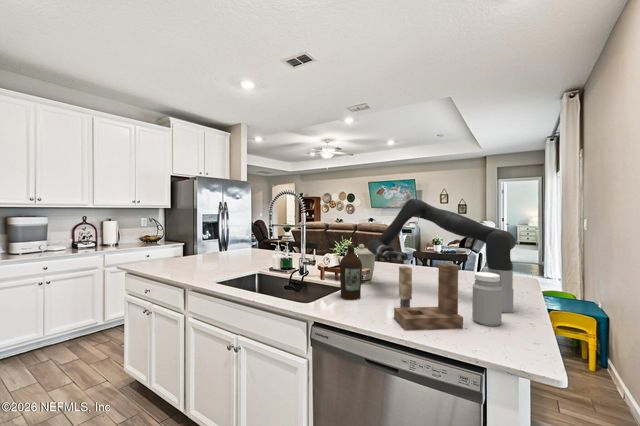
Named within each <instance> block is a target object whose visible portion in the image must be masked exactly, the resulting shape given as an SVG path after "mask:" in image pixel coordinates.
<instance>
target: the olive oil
mask: <svg viewBox="0 0 640 426" xmlns="http://www.w3.org/2000/svg"><path fill="white" fill-rule="evenodd" d="M354 248H355V245H354V244H347V248H346V249H347V250H346V253H345V255H343V257H342V258H341V260H340V261H339V278H340V279H339V280H340V297H341V299H343V300H349V301H350V300H351V301H354V300H355V301H356V300H359V299H360V298H361V293H362V288H361V287H362V280H361V274H362V263H361V260H360V259H359V258H358V257H357V255H356V254H355V253H354Z"/></svg>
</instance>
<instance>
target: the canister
mask: <svg viewBox="0 0 640 426" xmlns="http://www.w3.org/2000/svg"><path fill="white" fill-rule="evenodd" d="M357 248H358V249H357V250H356V251H354V253H355V254H356V253H358V254H357V255H358V258H359V259H360V260H361V263H362V269H364V268H370V269H371V272H370V274H368V275H366V276H365V280H364V281H368V280H372V278H373V276H374V270H375V261H376V255H374V254H373V253H372V252H370V251H369V250H368V247H367V248H365V244H363V243H360V244H358V247H357Z"/></svg>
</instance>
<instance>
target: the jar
mask: <svg viewBox="0 0 640 426" xmlns="http://www.w3.org/2000/svg"><path fill="white" fill-rule="evenodd" d="M498 281H500V276H499V275H498V274H495V273H488V272H483V271H481V272H480V271H479V272H478V271H477V272H474V283H473V284H472V312H471V313H472V314H471V315H472V320H473V321H474V322H475V323H477V324H479V325H482V326H487V327H497V326H499V325H501V324H502V316H503V315H502V313H503V312H502V289H501V287H500V286H499V285H500V283H499V282H498Z"/></svg>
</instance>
